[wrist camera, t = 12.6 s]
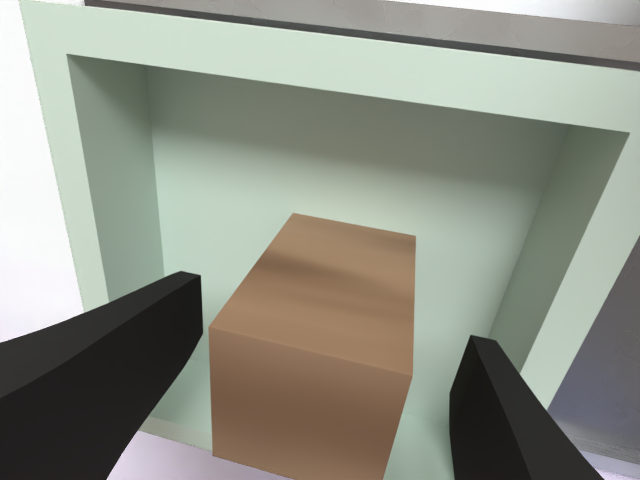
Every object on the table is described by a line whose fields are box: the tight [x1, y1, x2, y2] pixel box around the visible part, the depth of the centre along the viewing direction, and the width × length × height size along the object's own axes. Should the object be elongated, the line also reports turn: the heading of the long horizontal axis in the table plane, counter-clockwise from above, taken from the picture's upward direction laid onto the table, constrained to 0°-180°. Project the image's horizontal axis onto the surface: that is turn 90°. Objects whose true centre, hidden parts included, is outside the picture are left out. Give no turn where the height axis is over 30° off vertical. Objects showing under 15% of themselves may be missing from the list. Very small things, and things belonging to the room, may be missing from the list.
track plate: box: [85, 0, 640, 479], centre depth 15 cm, size 16×28×1 cm, turn 83°
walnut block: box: [208, 213, 416, 480], centre depth 11 cm, size 4×4×6 cm
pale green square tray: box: [19, 0, 640, 480], centre depth 13 cm, size 14×14×5 cm
